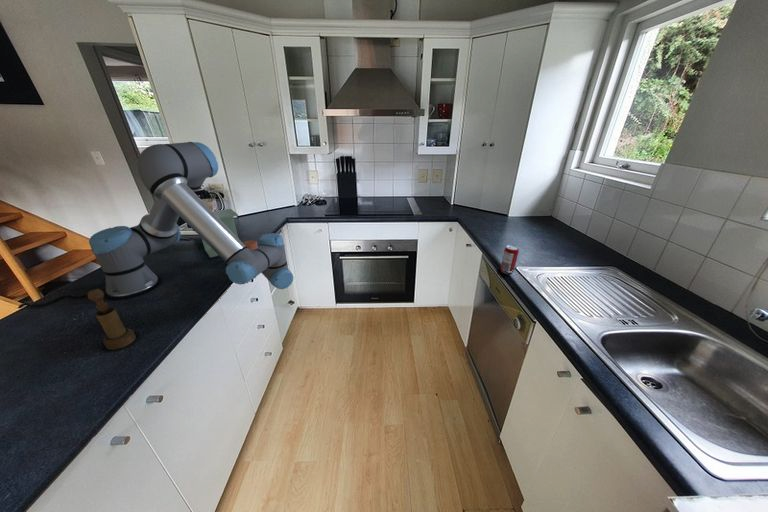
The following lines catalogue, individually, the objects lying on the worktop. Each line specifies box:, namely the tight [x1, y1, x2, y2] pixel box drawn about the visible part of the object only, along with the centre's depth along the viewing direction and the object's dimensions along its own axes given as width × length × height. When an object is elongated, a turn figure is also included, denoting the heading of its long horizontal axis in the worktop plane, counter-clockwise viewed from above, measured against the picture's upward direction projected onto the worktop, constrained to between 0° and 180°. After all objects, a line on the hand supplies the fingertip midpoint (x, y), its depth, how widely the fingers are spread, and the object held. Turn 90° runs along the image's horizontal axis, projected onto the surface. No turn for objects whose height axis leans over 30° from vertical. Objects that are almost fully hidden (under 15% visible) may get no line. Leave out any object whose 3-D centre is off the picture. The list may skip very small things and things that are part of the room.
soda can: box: [499, 244, 520, 275], centre depth 118 cm, size 6×6×12 cm
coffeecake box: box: [201, 197, 219, 212], centre depth 151 cm, size 15×7×20 cm, turn 22°
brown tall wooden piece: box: [86, 288, 137, 351], centre depth 76 cm, size 7×6×18 cm
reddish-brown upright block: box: [241, 239, 259, 251], centre depth 123 cm, size 6×6×10 cm
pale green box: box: [200, 208, 240, 258], centre depth 133 cm, size 16×12×19 cm
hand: (250, 248), depth 121 cm, fingers open, 13 cm apart
